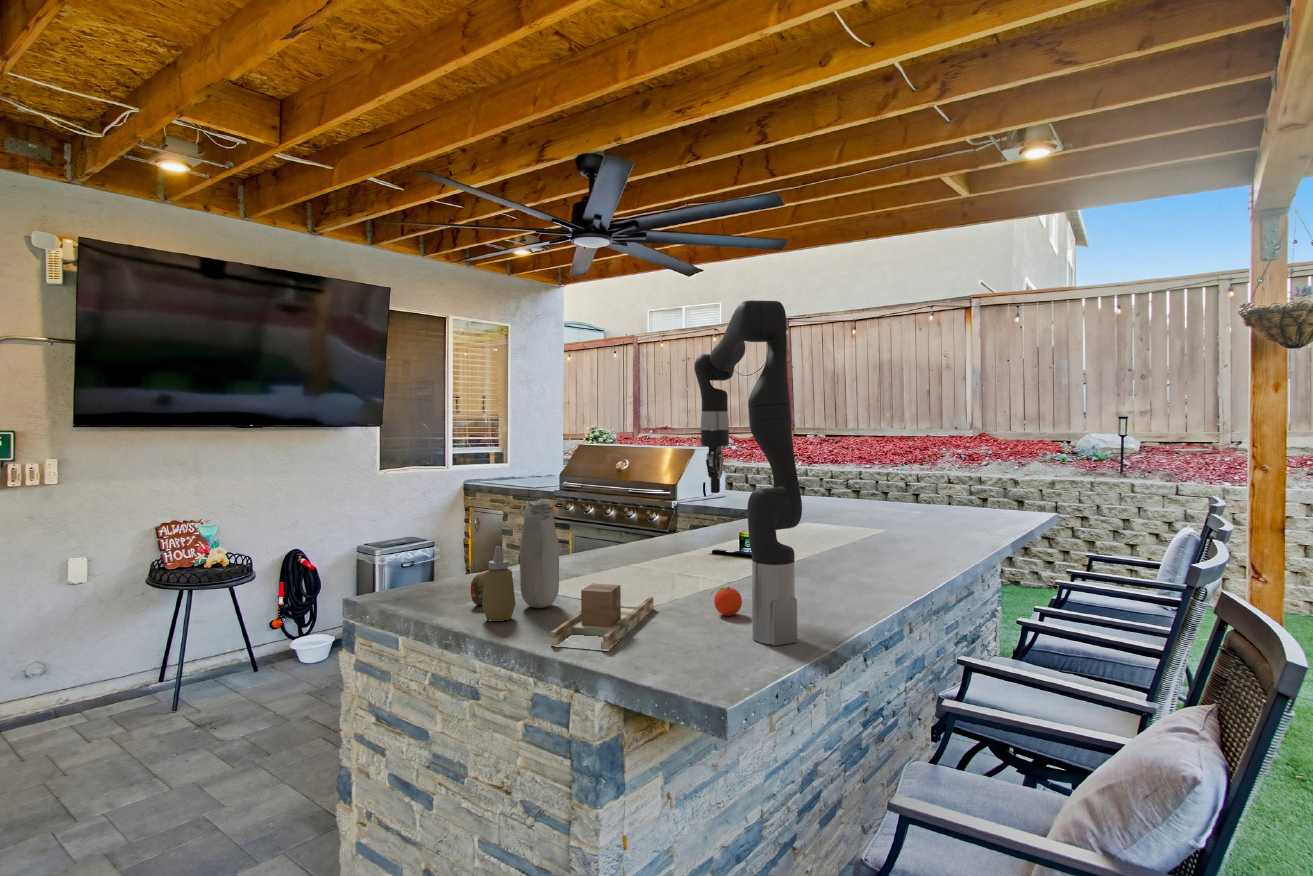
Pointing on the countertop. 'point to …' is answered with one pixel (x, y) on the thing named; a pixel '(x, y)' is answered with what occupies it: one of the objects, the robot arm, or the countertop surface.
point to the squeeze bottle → (498, 589)
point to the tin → (478, 588)
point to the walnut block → (600, 605)
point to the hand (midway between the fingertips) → (715, 492)
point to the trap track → (610, 635)
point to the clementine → (727, 601)
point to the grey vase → (539, 556)
